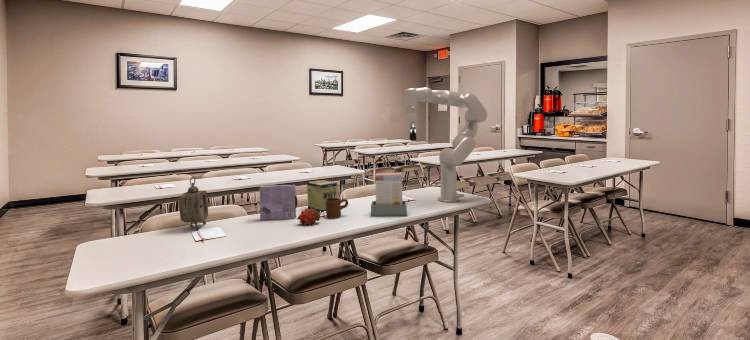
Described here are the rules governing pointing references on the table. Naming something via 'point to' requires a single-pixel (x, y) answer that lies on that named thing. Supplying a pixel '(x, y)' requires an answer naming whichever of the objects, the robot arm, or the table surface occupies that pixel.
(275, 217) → the cake pan box
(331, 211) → the mug
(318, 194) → the protein box
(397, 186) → the cracker box
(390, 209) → the tray
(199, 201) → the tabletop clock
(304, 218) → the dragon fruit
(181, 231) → the table surface
